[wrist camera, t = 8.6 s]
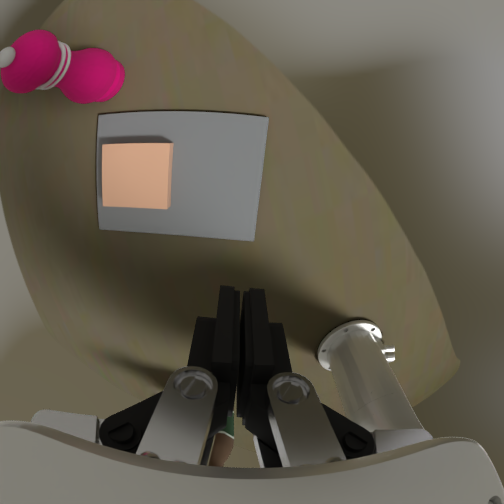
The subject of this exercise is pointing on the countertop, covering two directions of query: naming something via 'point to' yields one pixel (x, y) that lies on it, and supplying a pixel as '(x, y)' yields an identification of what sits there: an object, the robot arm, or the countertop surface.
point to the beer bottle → (223, 444)
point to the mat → (193, 172)
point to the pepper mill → (60, 68)
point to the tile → (137, 175)
